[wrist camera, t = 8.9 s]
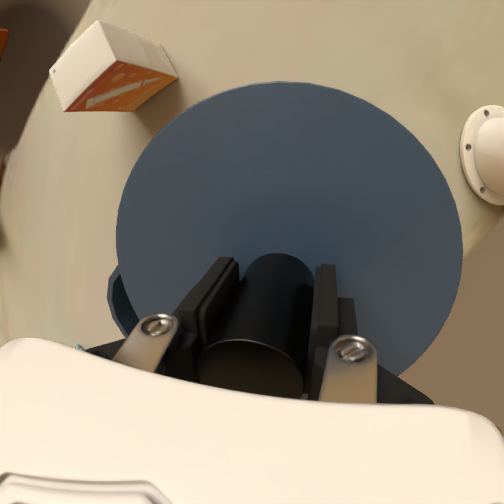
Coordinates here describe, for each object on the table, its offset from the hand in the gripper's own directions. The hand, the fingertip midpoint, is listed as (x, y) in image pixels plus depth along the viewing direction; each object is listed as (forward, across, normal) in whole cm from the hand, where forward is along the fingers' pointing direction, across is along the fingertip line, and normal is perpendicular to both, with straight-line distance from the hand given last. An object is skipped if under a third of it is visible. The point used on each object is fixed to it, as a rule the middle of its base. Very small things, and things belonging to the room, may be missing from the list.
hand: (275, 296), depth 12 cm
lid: (+2, 0, 0) cm, 2 cm away
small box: (+24, +20, -15) cm, 35 cm away
